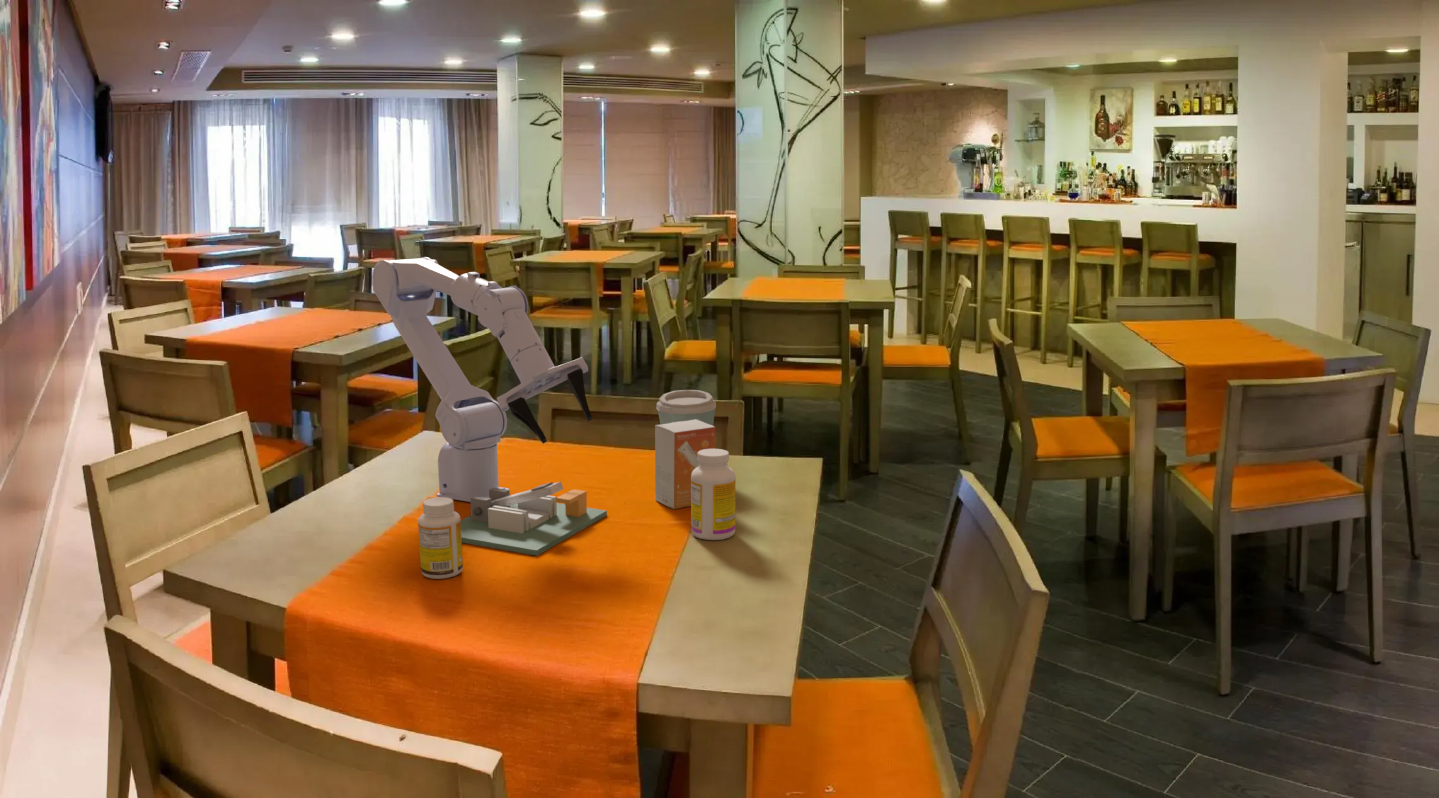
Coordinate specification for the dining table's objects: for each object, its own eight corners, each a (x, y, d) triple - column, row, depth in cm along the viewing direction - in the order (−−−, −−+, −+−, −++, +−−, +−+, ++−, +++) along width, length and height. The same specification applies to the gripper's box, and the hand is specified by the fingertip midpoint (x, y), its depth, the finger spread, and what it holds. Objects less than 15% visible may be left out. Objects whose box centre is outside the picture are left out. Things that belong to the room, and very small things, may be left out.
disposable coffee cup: (715, 485, 188) (716, 401, 185) (654, 485, 188) (653, 401, 185) (716, 468, 198) (717, 389, 195) (658, 468, 199) (657, 388, 195)
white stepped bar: (486, 511, 167) (482, 502, 167) (497, 506, 170) (494, 497, 169) (552, 494, 161) (549, 484, 161) (563, 488, 164) (560, 479, 164)
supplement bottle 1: (446, 562, 151) (443, 492, 149) (471, 572, 148) (468, 500, 145) (412, 573, 147) (408, 501, 145) (437, 583, 143) (433, 510, 141)
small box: (674, 510, 175) (673, 432, 172) (654, 500, 180) (653, 424, 177) (715, 502, 179) (716, 425, 176) (695, 492, 184) (695, 418, 181)
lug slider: (586, 512, 170) (586, 491, 170) (569, 521, 166) (569, 499, 165) (573, 510, 171) (573, 489, 171) (556, 519, 167) (556, 497, 166)
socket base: (434, 537, 161) (433, 509, 160) (512, 500, 179) (511, 475, 178) (536, 555, 154) (535, 526, 153) (606, 515, 172) (606, 488, 171)
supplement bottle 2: (740, 530, 165) (741, 448, 163) (726, 543, 159) (727, 459, 156) (699, 525, 167) (700, 444, 165) (684, 538, 161) (684, 455, 159)
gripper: (481, 367, 162) (521, 444, 159) (568, 325, 165) (609, 400, 162) (487, 381, 169) (525, 456, 166) (570, 342, 172) (609, 414, 169)
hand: (567, 429), depth 165 cm, fingers open, 7 cm apart
